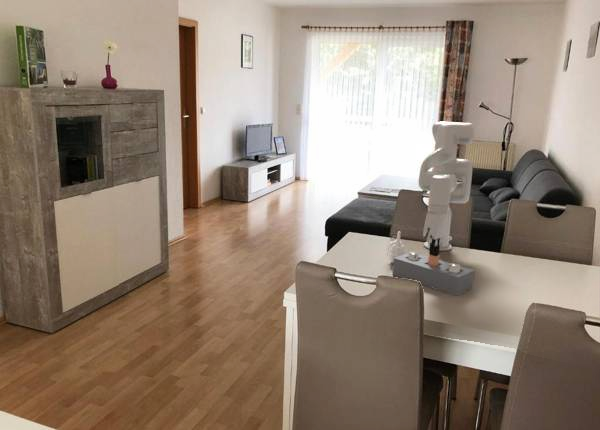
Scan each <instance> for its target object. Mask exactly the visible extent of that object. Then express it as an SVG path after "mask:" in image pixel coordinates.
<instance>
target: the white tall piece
mask: <svg viewBox="0 0 600 430" xmlns="http://www.w3.org/2000/svg"><path fill="white" fill-rule="evenodd" d="M396 235H397V236H396ZM396 235H394V236H392V238H391V239H393V238H395V237H396V239H395V240H391V242H389V243H388V247H387V254H386V256H387V257H388V255H389V256H390V257H389V258H390V261H392V263H393V264H394V258H395V257H398V256H401V255H404V254H406V250H405V245H403V242H402V241H401V235H402V233H401V231H400V230H398V232H397V234H396ZM393 243H394V244H393ZM390 244H391V247H390ZM389 248H390V249H389ZM389 251H390V253H389Z"/></svg>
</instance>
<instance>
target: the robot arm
mask: <svg viewBox="0 0 600 430" xmlns="http://www.w3.org/2000/svg"><path fill="white" fill-rule="evenodd" d="M431 129H432V130H431V132H432V137H433V139H434V142H435V144H434V151H432V152H431V153H430V154H429V155H427V156H426V157H425V158H424V159H423V161H422V162H421V166H420V168H419V175H418V187H419V189H420V190H423V191H425V192H429V195H428V205H427V213H426V216H425V221H424V224H423V226H424V227H423V233H422V235H423V236H422V237H423V238H426V242H424V243H423V246H424V247H425V248H427V249H429V252H428V255H429V254H430V255H433V256H438V255H439V256H440V252H441V251H442V252H444V251H445V252H446V251H450V250H451V249H452V247H453V246H452V244H451V243H450V241H452V240H453V237H452V235H451V236H450V230H451V222H452V209H451V208H450V203H452V204H453V203H454V204H466V203H468V202H469V200H470V197H471V196H470V195H471V188H472V187H471V186H472V178H473V164H472V161H471V160H469V159H466V158H457V152H458V145H466V146H467V145H471V144H472V143H473V142H474V139H475V126H474V124H473V123H472V122H460V121H459V122H456V121H437V122H435V123H433V125H432V128H431ZM434 167H435V171H431V170H430V169H432V168H434ZM429 170H430V171H429Z"/></svg>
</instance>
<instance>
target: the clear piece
mask: <svg viewBox="0 0 600 430" xmlns="http://www.w3.org/2000/svg"><path fill="white" fill-rule="evenodd" d="M460 266H461V264H458V263H453V262H452V263H451V264H449V271H450V272H454V273H459V272H460Z"/></svg>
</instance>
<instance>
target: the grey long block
mask: <svg viewBox="0 0 600 430" xmlns="http://www.w3.org/2000/svg"><path fill="white" fill-rule="evenodd" d="M408 253H409V252H407V253H404V255H401V256H398V257H395V258H394V263H393V266H392V267H393V268H392V275H394V276H396V277H398V278H402V279H404V278H407V279H412V280H417V281H420V282H421V283H422V284H424V285H423V286H425V285H427V286H426V287H428V286H430V287H429V288H431V287H433V288H432V289H434V288H436V289H435V290H437V289H439V290H438V291H440V290H441V292H443V291H444V292H443V293H446V292H447V294H449V293H450V295H452V294H453V296H455V295H456V296H455V297H457V296H459V295H461V294H462V293H465V292H467V291H468V290H471V289H472V288H473V286H474V280H475V279H474V278H475V271H476V270H475V269H471V268H468V267H465V266H462V265H460V272H459V273H454V272H450V271H449V264H452V263H451V262H447V261H444V260H441V259H439V264H438V266H437V267H434V266H430V265H428V255H424V254H423V255H422V254H420V253H419V257H418V260H416V261H414V260H410V259H408ZM407 279H406V280H407ZM422 284H421V285H422Z"/></svg>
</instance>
